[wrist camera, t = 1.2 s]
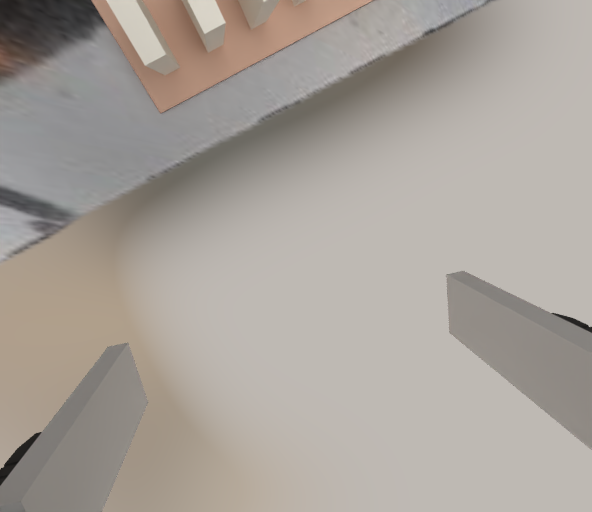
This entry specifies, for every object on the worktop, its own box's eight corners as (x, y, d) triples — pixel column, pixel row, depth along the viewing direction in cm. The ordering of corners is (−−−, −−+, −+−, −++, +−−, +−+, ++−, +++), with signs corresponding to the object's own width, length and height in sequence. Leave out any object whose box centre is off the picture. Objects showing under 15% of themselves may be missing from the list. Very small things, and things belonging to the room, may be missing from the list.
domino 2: (208, 52, 32) (204, 34, 23) (177, -9, 30) (159, -56, 21) (223, 44, 32) (225, 22, 23) (193, -18, 30) (183, -68, 21)
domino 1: (165, 75, 32) (145, 65, 23) (131, 16, 30) (94, -21, 21) (180, 67, 32) (166, 54, 23) (147, 7, 30) (117, -33, 21)
